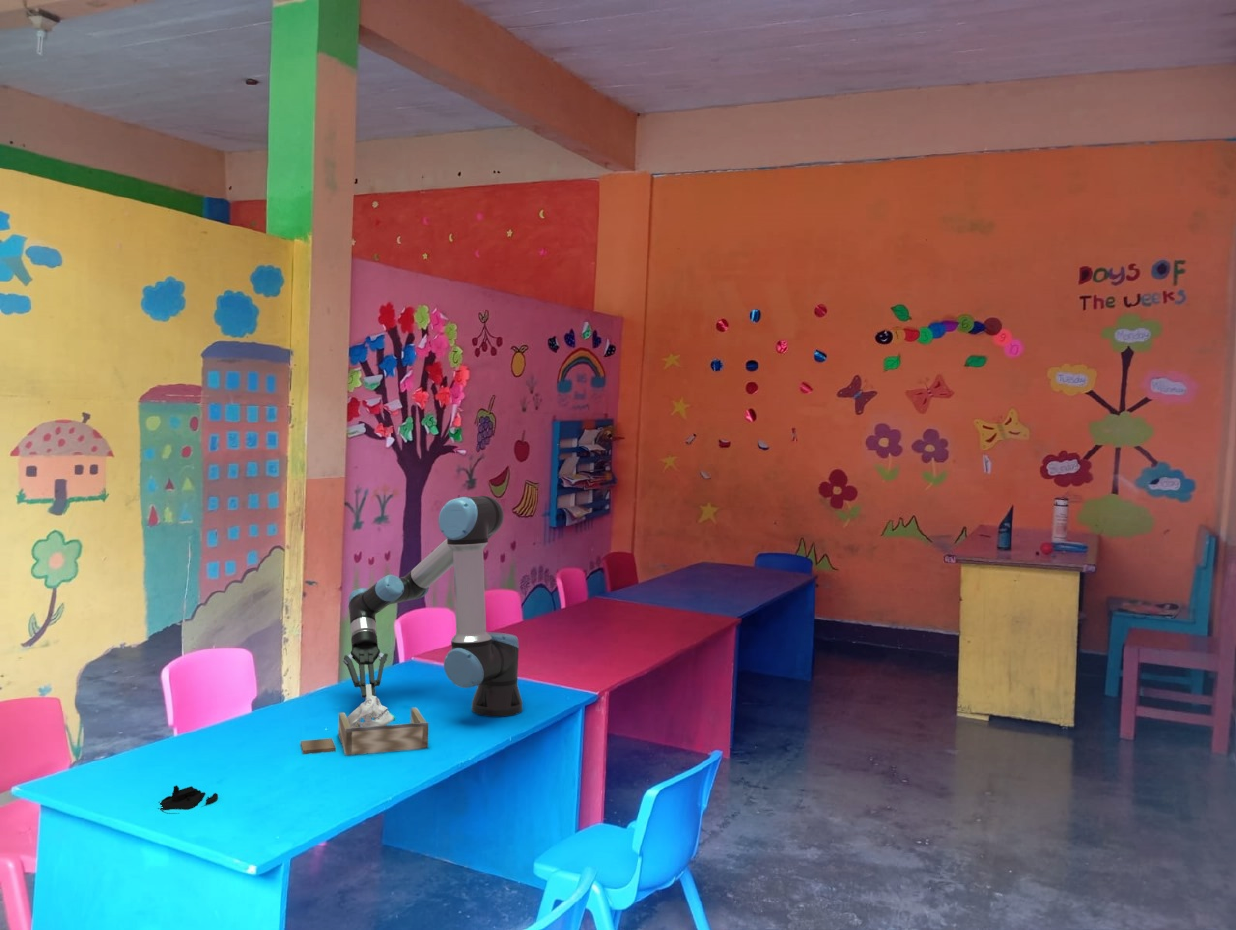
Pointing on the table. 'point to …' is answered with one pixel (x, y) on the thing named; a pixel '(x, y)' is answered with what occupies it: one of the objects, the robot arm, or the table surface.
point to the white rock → (370, 714)
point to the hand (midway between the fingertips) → (369, 706)
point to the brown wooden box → (384, 736)
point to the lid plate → (318, 746)
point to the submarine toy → (185, 799)
